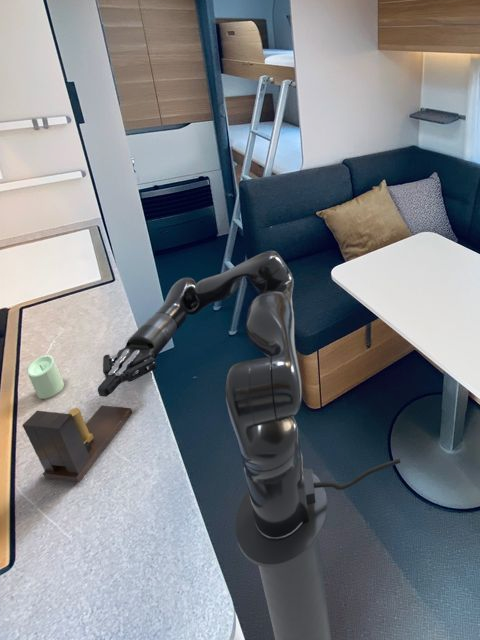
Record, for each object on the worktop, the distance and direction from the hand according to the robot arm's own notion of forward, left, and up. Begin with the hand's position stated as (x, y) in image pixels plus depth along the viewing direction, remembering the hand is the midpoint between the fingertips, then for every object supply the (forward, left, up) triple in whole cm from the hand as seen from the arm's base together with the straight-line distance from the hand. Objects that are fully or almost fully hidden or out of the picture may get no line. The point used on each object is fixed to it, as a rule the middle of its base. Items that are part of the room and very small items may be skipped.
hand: (101, 393), depth 85 cm
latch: (+2, +5, -7) cm, 9 cm away
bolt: (+3, +8, -6) cm, 10 cm away
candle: (+17, -12, -8) cm, 22 cm away
